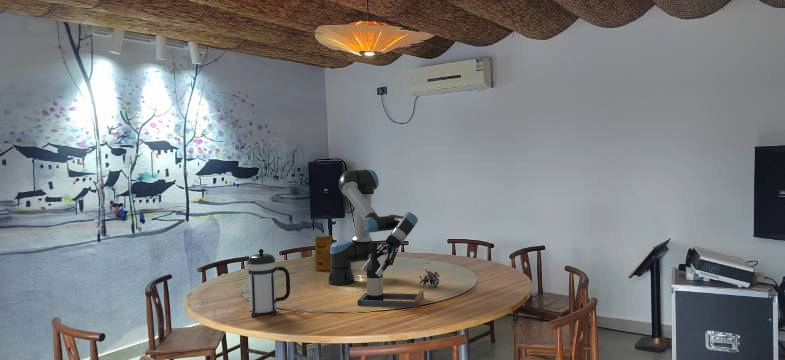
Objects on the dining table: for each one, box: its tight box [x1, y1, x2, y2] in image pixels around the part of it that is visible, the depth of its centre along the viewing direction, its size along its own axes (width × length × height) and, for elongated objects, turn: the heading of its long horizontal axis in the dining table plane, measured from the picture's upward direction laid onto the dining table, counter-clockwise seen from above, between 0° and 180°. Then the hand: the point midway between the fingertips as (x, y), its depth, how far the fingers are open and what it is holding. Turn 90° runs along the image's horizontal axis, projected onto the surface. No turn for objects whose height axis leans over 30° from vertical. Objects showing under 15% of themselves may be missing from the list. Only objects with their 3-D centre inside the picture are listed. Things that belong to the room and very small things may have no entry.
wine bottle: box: [366, 240, 384, 301], centre depth 260 cm, size 8×8×30 cm
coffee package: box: [313, 235, 333, 272], centre depth 342 cm, size 10×12×22 cm
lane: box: [357, 290, 425, 308], centre depth 259 cm, size 30×15×4 cm, turn 79°
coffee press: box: [243, 248, 291, 318], centre depth 247 cm, size 17×16×30 cm
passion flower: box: [419, 269, 441, 289], centre depth 287 cm, size 11×11×12 cm
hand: (370, 272), depth 259 cm, fingers open, 13 cm apart
